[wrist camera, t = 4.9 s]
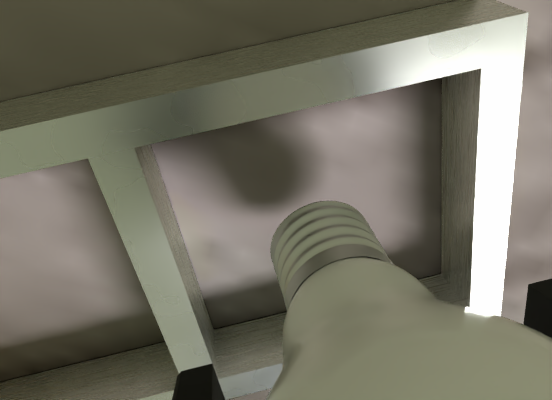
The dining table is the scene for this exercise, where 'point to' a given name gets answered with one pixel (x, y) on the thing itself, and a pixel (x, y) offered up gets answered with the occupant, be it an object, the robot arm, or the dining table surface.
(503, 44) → the rack
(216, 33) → the dining table surface
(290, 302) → the lightbulb
